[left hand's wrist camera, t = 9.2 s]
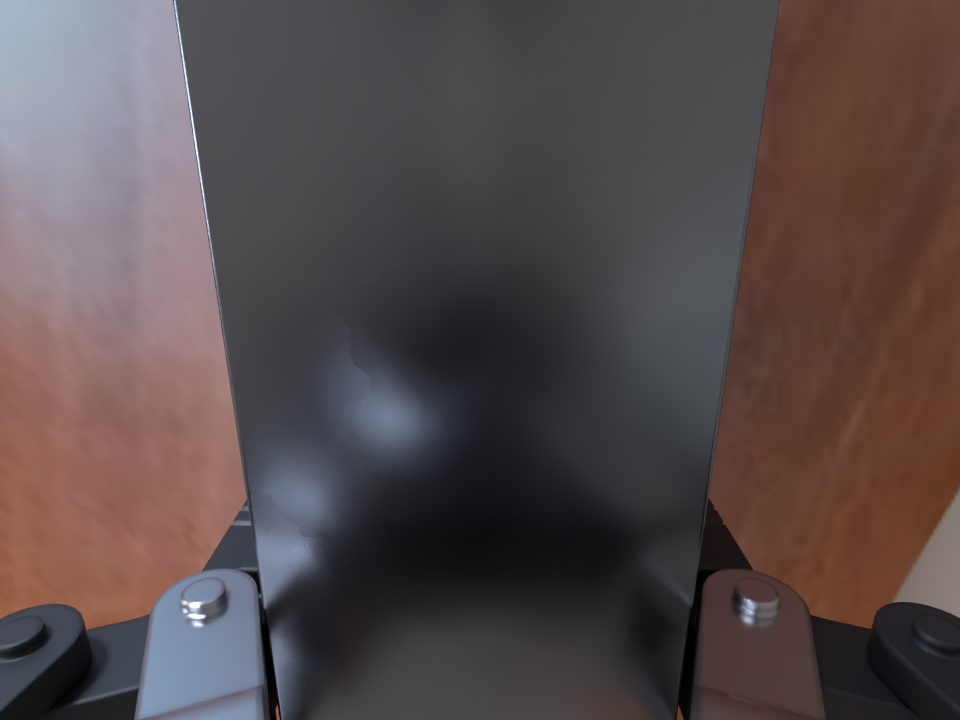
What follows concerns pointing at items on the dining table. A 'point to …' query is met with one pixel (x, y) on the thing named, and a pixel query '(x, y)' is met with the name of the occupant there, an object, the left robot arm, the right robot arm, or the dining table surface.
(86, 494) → the dining table surface
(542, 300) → the bar
